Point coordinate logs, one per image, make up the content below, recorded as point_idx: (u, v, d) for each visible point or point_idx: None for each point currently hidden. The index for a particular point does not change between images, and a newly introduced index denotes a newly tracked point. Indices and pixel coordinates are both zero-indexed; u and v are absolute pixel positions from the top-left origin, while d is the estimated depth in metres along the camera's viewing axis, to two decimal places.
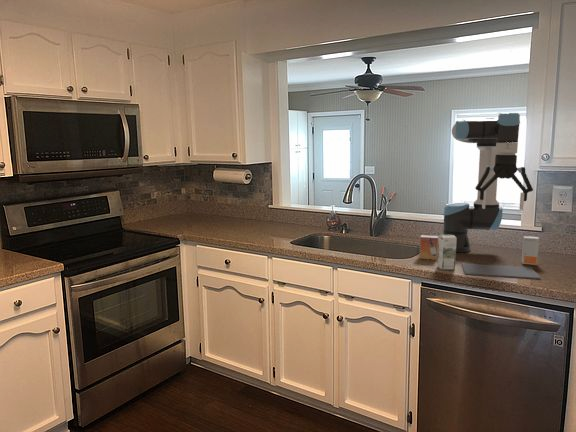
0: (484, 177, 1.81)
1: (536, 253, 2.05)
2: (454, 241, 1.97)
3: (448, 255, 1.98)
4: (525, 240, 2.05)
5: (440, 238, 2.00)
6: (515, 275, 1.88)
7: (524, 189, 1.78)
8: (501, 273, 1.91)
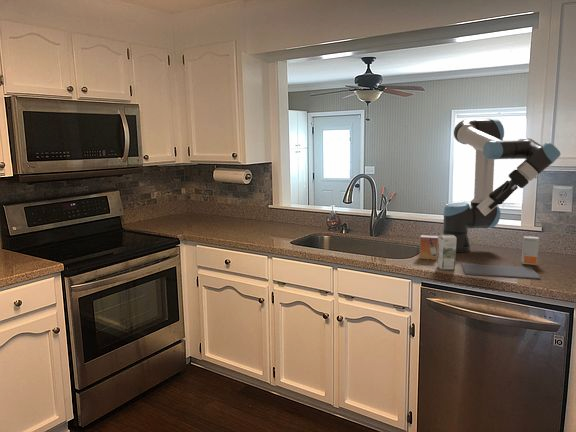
0: None
1: (536, 253, 2.05)
2: (454, 241, 1.97)
3: (448, 255, 1.98)
4: (525, 240, 2.05)
5: (440, 238, 2.00)
6: (515, 275, 1.88)
7: (495, 198, 1.98)
8: (501, 273, 1.91)
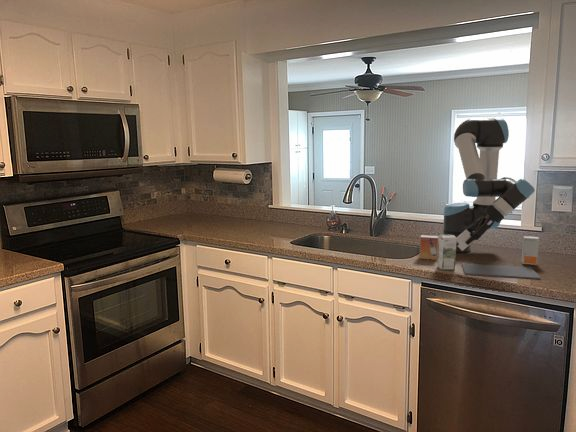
0: None
1: (536, 253, 2.05)
2: (454, 241, 1.97)
3: (449, 255, 1.98)
4: (525, 240, 2.05)
5: (440, 238, 2.00)
6: (515, 275, 1.88)
7: None
8: (501, 273, 1.91)
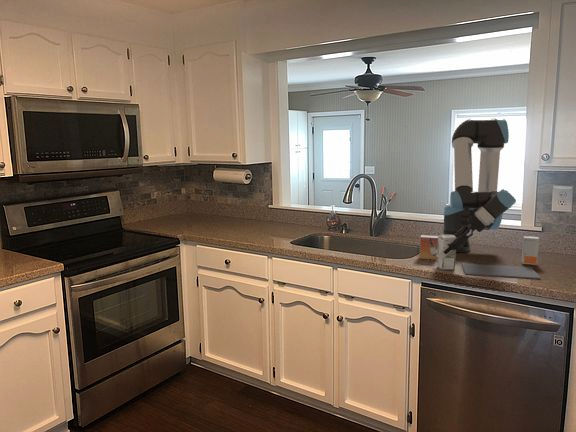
0: None
1: (536, 253, 2.05)
2: None
3: (448, 254, 1.98)
4: (525, 240, 2.05)
5: (440, 238, 2.00)
6: (515, 275, 1.88)
7: None
8: (501, 273, 1.91)
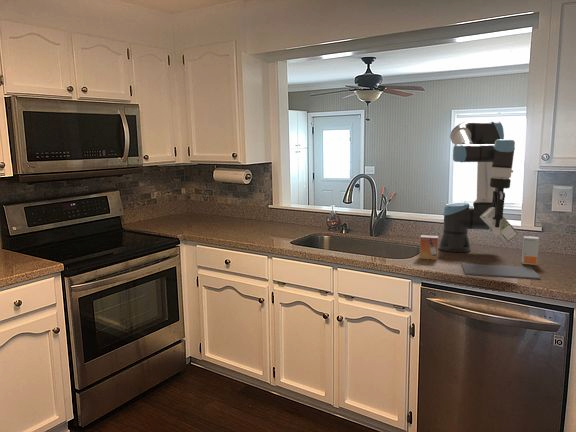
0: None
1: (536, 253, 2.05)
2: None
3: (502, 225, 1.90)
4: (525, 240, 2.05)
5: (483, 218, 1.94)
6: (515, 275, 1.88)
7: None
8: (501, 273, 1.91)
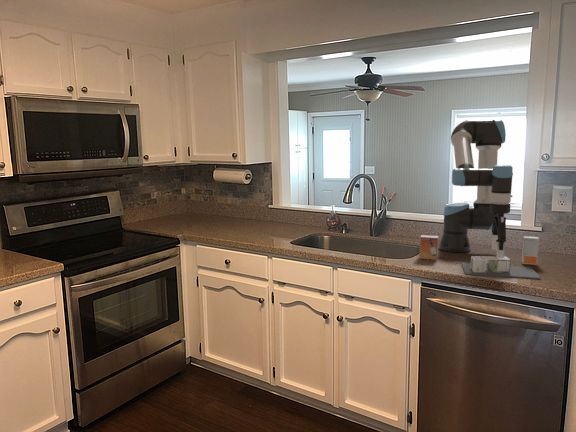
0: None
1: (536, 253, 2.05)
2: (479, 261, 1.92)
3: (493, 266, 1.92)
4: (525, 240, 2.05)
5: None
6: (515, 275, 1.88)
7: None
8: (501, 273, 1.91)
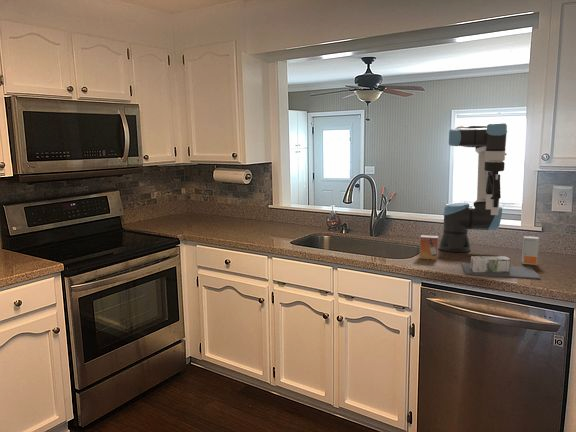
0: None
1: (536, 253, 2.05)
2: (479, 261, 1.92)
3: (493, 266, 1.92)
4: (525, 240, 2.05)
5: None
6: (515, 275, 1.88)
7: None
8: (501, 273, 1.91)
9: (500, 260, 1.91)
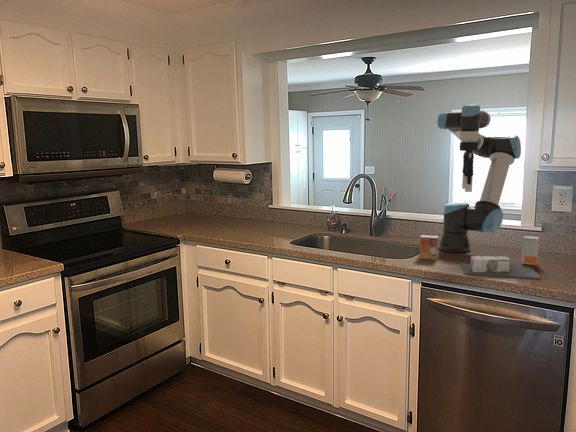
0: (472, 163, 1.97)
1: (536, 253, 2.05)
2: (479, 261, 1.92)
3: (493, 266, 1.92)
4: (525, 240, 2.05)
5: None
6: (515, 275, 1.88)
7: None
8: (501, 273, 1.91)
9: (500, 260, 1.91)
